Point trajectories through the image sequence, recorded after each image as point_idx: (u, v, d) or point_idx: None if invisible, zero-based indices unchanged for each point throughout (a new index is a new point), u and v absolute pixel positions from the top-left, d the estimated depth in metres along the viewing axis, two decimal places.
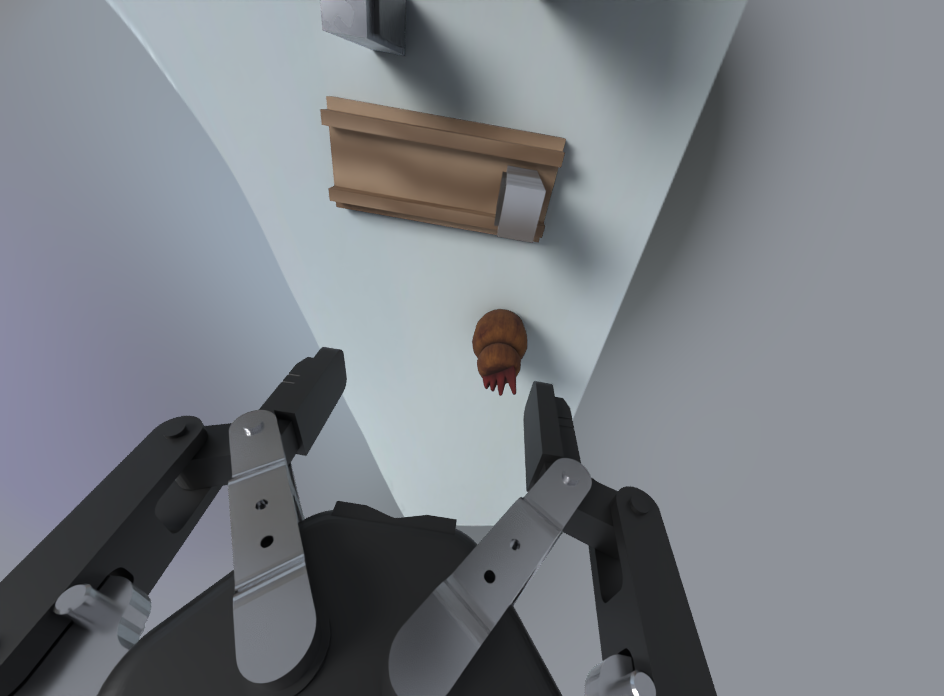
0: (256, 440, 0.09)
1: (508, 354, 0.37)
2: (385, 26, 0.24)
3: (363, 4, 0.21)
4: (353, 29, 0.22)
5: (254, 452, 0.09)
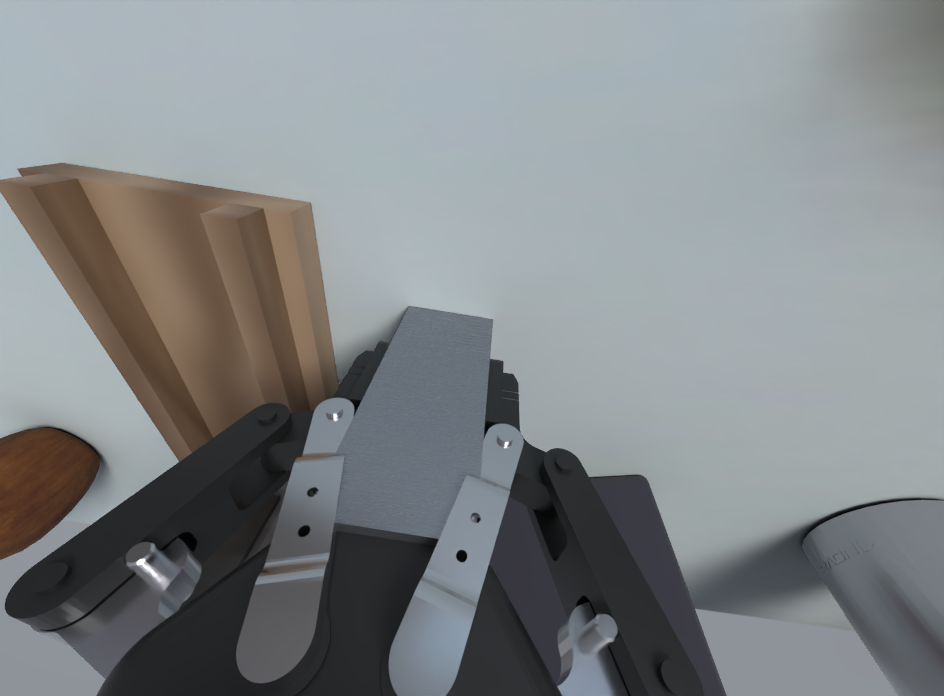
0: (331, 427, 0.10)
1: None
2: None
3: None
4: None
5: (341, 435, 0.10)
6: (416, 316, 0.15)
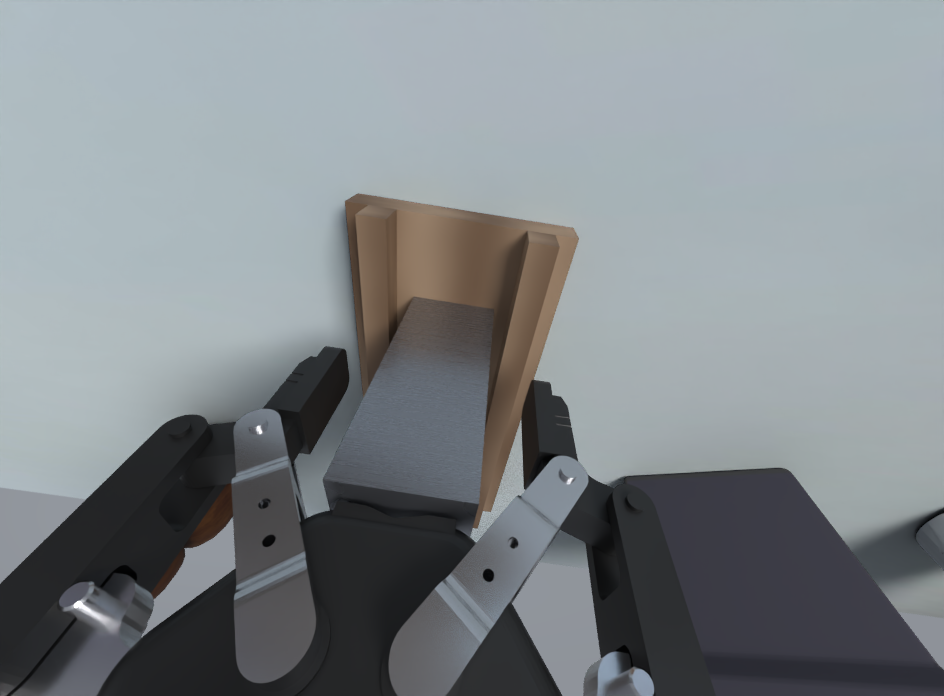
0: (260, 439, 0.09)
1: (162, 587, 0.20)
2: None
3: None
4: None
5: (259, 450, 0.09)
6: (421, 305, 0.16)
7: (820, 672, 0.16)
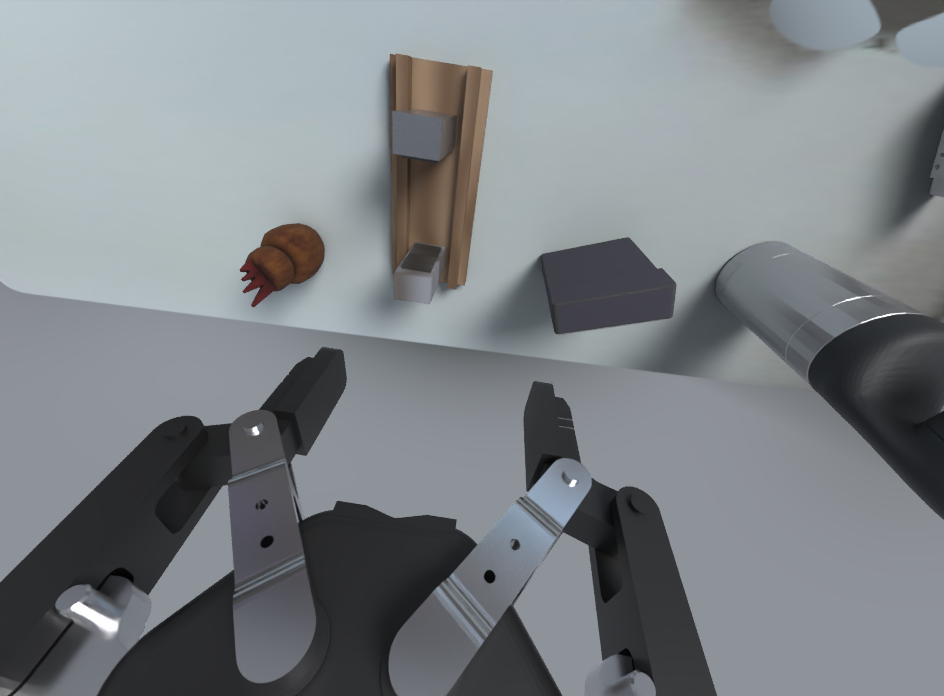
0: (256, 440, 0.09)
1: (286, 280, 0.38)
2: None
3: (411, 154, 0.28)
4: (396, 142, 0.28)
5: (254, 452, 0.09)
6: (423, 110, 0.34)
7: (607, 277, 0.34)
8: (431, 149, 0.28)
